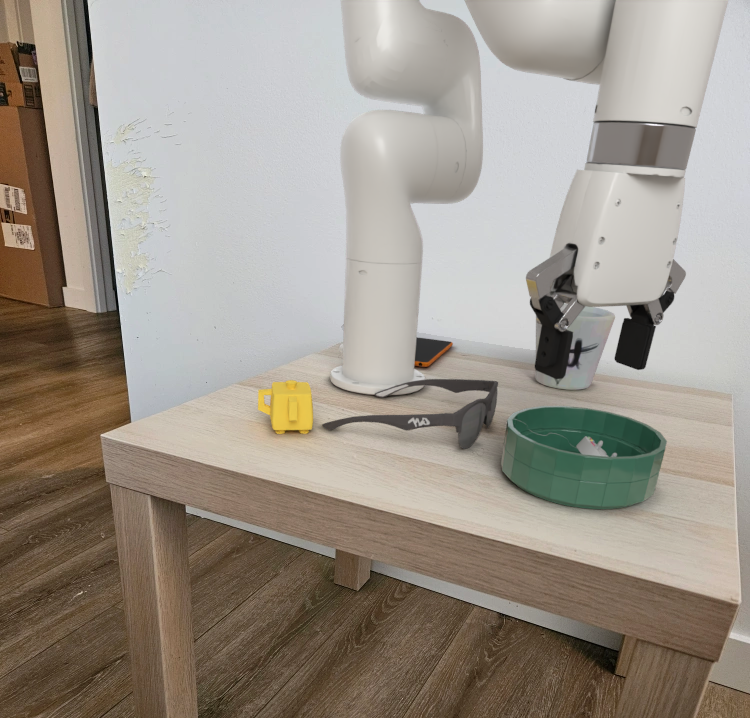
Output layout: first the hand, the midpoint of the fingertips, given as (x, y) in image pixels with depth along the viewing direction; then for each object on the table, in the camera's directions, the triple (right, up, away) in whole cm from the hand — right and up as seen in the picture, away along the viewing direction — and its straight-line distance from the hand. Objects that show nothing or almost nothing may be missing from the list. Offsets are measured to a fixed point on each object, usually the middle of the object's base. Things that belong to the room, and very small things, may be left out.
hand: (590, 369), depth 60 cm
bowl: (0, -10, +4) cm, 10 cm away
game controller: (-2, -7, +2) cm, 8 cm away
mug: (+8, +6, +37) cm, 39 cm away
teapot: (-29, -4, +13) cm, 32 cm away
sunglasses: (-15, -3, +16) cm, 22 cm away
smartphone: (-12, +11, +46) cm, 49 cm away
